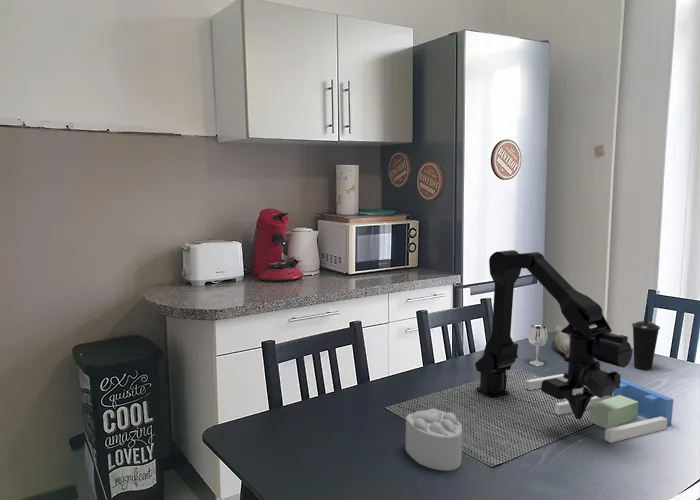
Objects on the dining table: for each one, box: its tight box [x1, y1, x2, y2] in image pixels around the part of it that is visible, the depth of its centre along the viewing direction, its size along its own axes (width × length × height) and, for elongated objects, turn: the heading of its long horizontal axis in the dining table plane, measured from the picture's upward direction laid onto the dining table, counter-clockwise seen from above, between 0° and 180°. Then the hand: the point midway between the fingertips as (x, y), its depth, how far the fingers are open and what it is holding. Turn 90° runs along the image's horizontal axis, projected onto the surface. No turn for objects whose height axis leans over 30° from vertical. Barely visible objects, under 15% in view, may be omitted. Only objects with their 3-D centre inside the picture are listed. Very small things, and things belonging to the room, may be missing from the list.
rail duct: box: [525, 373, 674, 444], centre depth 140 cm, size 21×32×6 cm, turn 23°
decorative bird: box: [551, 325, 570, 357], centre depth 184 cm, size 5×16×8 cm, turn 172°
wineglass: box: [527, 324, 548, 367], centre depth 173 cm, size 6×6×12 cm
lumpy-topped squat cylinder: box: [405, 408, 463, 472], centre depth 115 cm, size 10×13×9 cm
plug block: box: [588, 395, 639, 430], centre depth 133 cm, size 12×5×4 cm, turn 120°
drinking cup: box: [631, 304, 661, 371], centre depth 169 cm, size 8×8×20 cm
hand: (578, 418), depth 128 cm, fingers closed
